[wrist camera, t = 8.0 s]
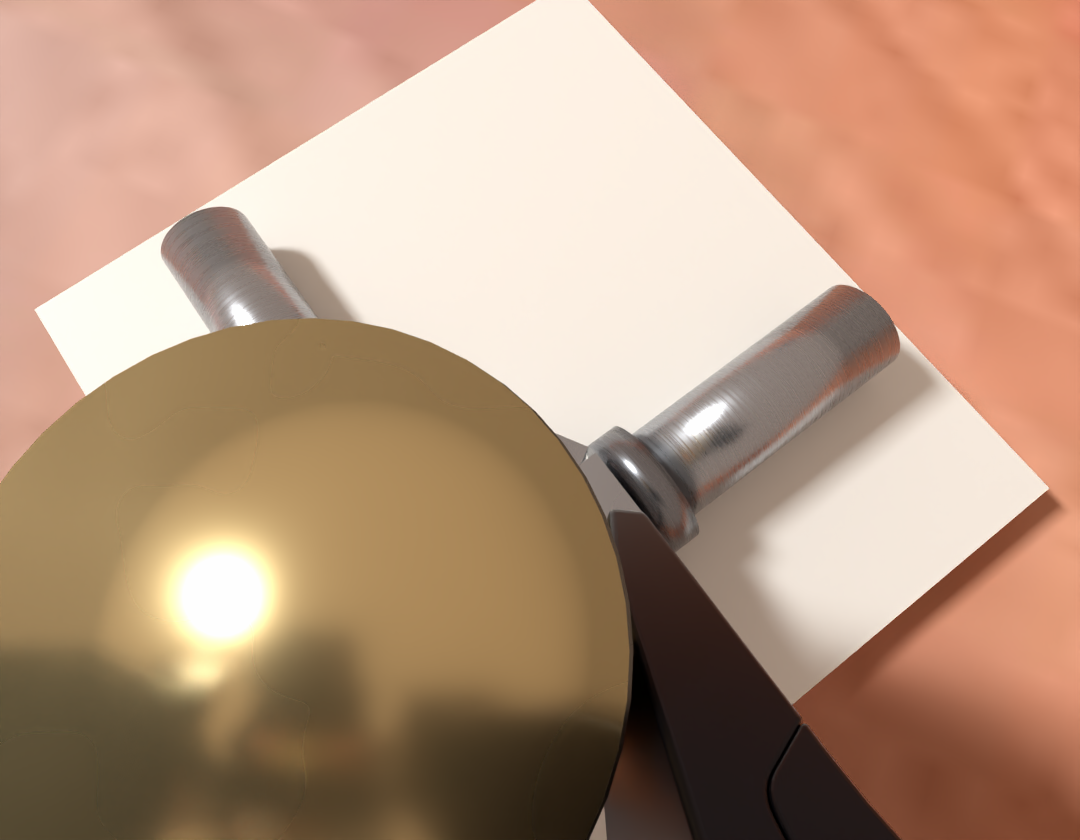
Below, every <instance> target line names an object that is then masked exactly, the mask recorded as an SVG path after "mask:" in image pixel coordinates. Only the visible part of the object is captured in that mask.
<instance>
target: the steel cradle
mask: <svg viewBox="0 0 1080 840" xmlns="http://www.w3.org/2000/svg"><path fill="white" fill-rule="evenodd" d="M161 257H162V260H163V261H164V263H165V265H166V266H167V268H168V269H169V271H170V272H171V274H172V275H173V277H174V278H175V280H176V281H177V283H178V284H179V286H180V287H181V289H182V290H183V292H184V293H185V295H186V296H187V298H188V299H189V301H190V302H191V304H192V305H193V307H194V309H195V310H196V312H197V313H198V315H199V316H200V318H201V319H202V321H203V322H204V324H205V325H206V327H207V328H208V330H209V331H210V333H212V332H216V331H219V330H223V329H226V328H229V327H234V326H240V325H246V324H252V323H258V322H264V321H270V320H284V319H305V318H318V317H317V315H316V314H315V313H314V311H313V310H312V308H311V307H310V306H309V304H308V303H307V301H306V300H305V299H304V297H303V296H302V294H301V293H300V292H299V290H298V289H297V287H296V286H295V285H294V283H293V282H292V280H291V279H290V277H289V276H288V275H287V273H286V272H285V270H284V269H283V268H282V266H281V265H280V263H279V262H278V261H277V259H276V258H275V256H274V255H273V254H272V252H271V251H270V249H269V248H268V246H267V245H266V244H265V242H264V241H263V239H262V238H261V237H260V235H259V234H258V232H257V231H256V230H255V228H254V227H253V225H252V224H251V223H250V221H249V220H248V218H247V217H246V216H245V215H244V214H243V213H242V212H240V211H238V210H236V209H233V208H230V207H210V208H205V209H202V210H199V211H196V212H194V213H191V214H189V215H188V216H186V217H184V218H183V219H181V220H180V221H178V222H177V223H176V224H175V225H174V226H173V227H172V228H171V229H170V230H169V231H168V233H167V234H166V236H165V237H164V239H163V242H162V245H161ZM318 319H319V318H318ZM899 351H900V340H899V335H898V332H897V330H896V327H895V325H894V323H893V321H892V320H891V318H890V317H889V315H888V314H887V312H886V311H885V310H884V309H883V308H882V307H881V305H880V304H879V303H877V302H876V301H875V300H874V299H873V298H872V297H870V296H869V295H868V294H866V293H865V292H863V291H861V290H859V289H857V288H855V287H852V286H848V285H835V286H832V287H830V288H829V289H827V290H826V291H825V292H823V293H822V294H821V295H819V296H818V297H817V298H815V299H814V300H813V301H811V302H810V303H809V304H807V305H806V306H804V307H803V308H802V309H800V310H799V311H798V312H796V313H795V314H794V315H792V316H791V317H790V318H788V319H787V320H786V321H784V322H783V323H782V324H780V325H779V326H777V327H776V328H775V329H773V330H772V331H771V332H769V333H768V334H767V335H765V336H764V337H763V338H761V339H760V340H759V341H757V342H756V343H754V344H753V345H752V346H750V347H749V348H748V349H746V350H745V351H744V352H742V353H741V354H740V355H738V356H737V357H736V358H734V359H733V360H731V361H730V362H729V363H727V364H726V365H725V366H723V367H722V368H721V369H719V370H718V371H717V372H715V373H714V374H713V375H711V376H710V377H709V378H707V379H706V380H704V381H703V382H702V383H700V384H699V385H698V386H696V387H695V388H694V389H692V390H691V391H690V392H688V393H687V394H686V395H684V396H683V397H681V398H680V399H679V400H677V401H676V402H675V403H673V404H672V405H671V406H669V407H668V408H667V409H665V410H664V411H663V412H661V413H660V414H658V415H657V416H656V417H654V418H653V419H652V420H650V421H649V422H648V423H646V424H645V425H644V426H642V427H641V428H640V429H638V430H637V431H636V432H634V433H633V434H631V433H629V432H628V431H626V430H625V429H623V428H621V427H618V426H614V427H613V428H611V429H610V430H609V431H607V432H606V433H605V434H603V435H602V436H600V437H599V438H598V439H596V440H595V441H594V442H592V443H591V444H590V445H588V446H585V445H583V444H580V443H578V442H575V441H573V440H571V439H568V438H566V437H563V436H561V435H559V434H556V433H555V434H556V435H557V436H558V437H559V438H560V440H561V441H562V442H563V443H564V445H565V446H566V448H567V449H568V451H569V452H570V454H571V455H572V456H573V458H574V459H575V461H576V462H577V464H578V465H579V467H580V468H581V470H582V471H583V473H584V474H585V476H586V477H587V479H588V481H589V483H590V485H591V487H592V489H593V491H594V493H595V495H596V497H597V499H598V501H599V503H600V505H601V507H602V510H603V512H604V514H605V516H606V518H608V514H609V512H610V511H611V510H613V509H621V510H632V511H641V512H643V513H645V514H646V515H647V516H648V518H649V519H650V520H651V522H652V523H653V524H654V526H655V527H656V528H657V530H658V531H659V532H660V533H661V535H662V536H663V537H664V539H665V540H666V541H667V543H668V544H669V545H670V546H671V548H672V549H673V550H674V552H677V551H678V550H679V549H680V548H682V547H683V546H684V545H686V544H687V543H688V542H689V541H691V540H692V539H693V538H695V537H696V536H697V535H698V534H699V526H698V523H697V520H696V517H695V514H697V513H698V512H699V511H701V510H702V509H703V508H704V507H706V506H707V505H708V504H710V503H711V502H712V501H714V500H715V499H716V498H717V497H719V496H720V495H721V494H723V493H724V492H725V491H727V490H728V489H729V488H730V487H732V486H733V485H734V484H736V483H737V482H738V481H739V480H741V479H742V478H743V477H745V476H746V475H747V474H749V473H750V472H751V471H752V470H754V469H755V468H756V467H758V466H759V465H760V464H761V463H763V462H764V461H765V460H767V459H768V458H769V457H771V456H772V455H773V454H774V453H776V452H777V451H778V450H780V449H781V448H782V447H783V446H785V445H786V444H787V443H789V442H790V441H791V440H793V439H794V438H795V437H796V436H798V435H799V434H800V433H802V432H803V431H804V430H805V429H807V428H808V427H809V426H811V425H812V424H813V423H815V422H816V421H817V420H818V419H820V418H821V417H822V416H824V415H825V414H826V413H828V412H829V411H830V410H831V409H833V408H834V407H835V406H837V405H838V404H839V403H840V402H842V401H843V400H844V399H846V398H847V397H848V396H850V395H851V394H852V393H853V392H855V391H856V390H857V389H859V388H860V387H861V386H862V385H864V384H865V383H866V382H868V381H869V380H870V379H872V378H873V377H874V376H875V375H877V374H878V373H879V372H881V371H882V370H883V369H884V368H886V367H887V366H888V365H890V364H891V363H892V362H893V361H895V360H896V358H897V357H898V355H899ZM586 455H587V456H588V459H586ZM585 459H586V460H585Z"/></svg>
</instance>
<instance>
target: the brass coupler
mask: <svg viewBox="0 0 1080 840" xmlns="http://www.w3.org/2000/svg"><path fill="white" fill-rule="evenodd" d="M632 669H633V639H632V626H631V614H630V602H629V598H628V593H627V588H626V583H625V578H624V573H623V569H622V564H621V559H620V556H619V553H618V550H617V547H616V544H615V541H614V538H613V536H612V533H611V530H610V527H609V524H608V521H607V518H606V516H605V514H604V512H603V510H602V507H601V505H600V503H599V501H598V499H597V497H596V495H595V493H594V491H593V489H592V487H591V485H590V483H589V481H588V479H587V477H586V476H585V474H584V473H583V471H582V470H581V468H580V467H579V465H578V464H577V462H576V461H575V459H574V458H573V456H572V455H571V454H570V452H569V451H568V449H567V448H566V446H565V445H564V443H563V442H562V441H561V440H560V438H559V437H558V436H557V435H556V434H555V433H554V432H553V430H552V429H551V428H550V427H549V426H548V425H547V424H546V423H545V421H544V420H543V419H542V418H541V417H540V416H539V415H538V413H537V412H536V411H535V410H533V409H532V408H531V407H530V406H529V405H528V404H527V403H525V402H524V401H523V400H522V399H521V398H520V397H519V396H517V395H516V394H515V393H514V392H513V391H512V390H510V389H509V388H508V387H507V386H506V385H505V384H503V383H502V382H500V381H499V380H497V379H495V378H494V377H492V376H491V375H489V374H488V373H486V372H485V371H483V370H482V369H480V368H479V367H477V366H476V365H474V364H473V363H471V362H469V361H468V360H466V359H464V358H462V357H460V356H458V355H456V354H454V353H452V352H450V351H448V350H446V349H444V348H442V347H440V346H438V345H436V344H434V343H432V342H429V341H426V340H423V339H420V338H417V337H414V336H411V335H409V334H406V333H403V332H400V331H397V330H394V329H390V328H385V327H380V326H375V325H370V324H365V323H360V322H355V321H345V320H331V319H318V318H305V319H284V320H270V321H264V322H258V323H252V324H246V325H240V326H234V327H229V328H226V329H223V330H219V331H216V332H212V333H209V334H205V335H202V336H199V337H195V338H192V339H189V340H187V341H184V342H182V343H180V344H177V345H175V346H172V347H170V348H168V349H165V350H163V351H160V352H158V353H156V354H153V355H151V356H149V357H147V358H146V359H144V360H142V361H140V362H139V363H137V364H135V365H133V366H131V367H130V368H128V369H126V370H124V371H122V372H121V373H119V374H117V375H115V376H113V377H112V378H111V379H109V380H108V381H106V382H105V383H104V384H102V385H101V386H99V387H98V388H97V389H95V390H94V391H92V392H91V393H90V394H88V395H87V396H85V397H84V398H83V399H81V400H80V401H78V402H77V403H76V404H75V405H74V406H72V407H71V408H70V409H69V410H68V411H67V412H66V413H65V414H64V415H62V416H61V417H60V418H59V419H58V420H57V421H56V422H55V423H53V424H52V425H51V426H50V427H49V428H48V429H47V430H46V431H44V432H43V433H42V435H41V436H40V437H39V438H38V439H37V440H36V441H35V442H34V443H33V444H32V446H31V447H30V448H29V449H28V450H27V451H26V452H25V453H24V454H23V456H22V457H21V458H20V459H19V460H18V461H17V462H16V463H15V464H14V466H13V467H12V468H11V469H10V471H9V472H8V474H7V475H6V476H5V478H4V479H3V480H2V482H1V483H0V840H589V839H590V836H591V834H592V832H593V830H594V827H595V825H596V823H597V821H598V818H599V816H600V814H601V812H602V809H603V807H604V805H605V803H606V800H607V798H608V795H609V792H610V788H611V785H612V782H613V779H614V775H615V772H616V769H617V765H618V762H619V759H620V755H621V752H622V749H623V743H624V737H625V732H626V726H627V720H628V714H629V708H630V703H631V691H632Z"/></svg>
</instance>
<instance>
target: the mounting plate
mask: <svg viewBox="0 0 1080 840" xmlns="http://www.w3.org/2000/svg"><path fill="white" fill-rule="evenodd" d="M210 207H230V208H233V209H236V210H238V211H240V212H242V213H243V214H244V215H245V216H246V217H247V218H248V220H249V221H250V223H251V224H252V225H253V227H254V228H255V230H256V231H257V232H258V234H259V235H260V237H261V238H262V239H263V241H264V242H265V244H266V245H267V246H268V248H269V249H270V251H271V252H272V254H273V255H274V256H275V258H276V259H277V261H278V262H279V263H280V265H281V266H282V268H283V269H284V270H285V272H286V273H287V275H288V276H289V277H290V279H291V280H292V282H293V283H294V285H295V286H296V287H297V289H298V290H299V292H300V293H301V294H302V296H303V297H304V299H305V300H306V301H307V303H308V304H309V306H310V307H311V308H312V310H313V311H314V313H315V314H316V315H317V317H318V318H319V319H331V320H345V321H355V322H360V323H365V324H370V325H375V326H380V327H385V328H390V329H394V330H397V331H400V332H403V333H406V334H409V335H411V336H414V337H417V338H420V339H423V340H426V341H429V342H432V343H434V344H436V345H438V346H440V347H442V348H444V349H446V350H448V351H450V352H452V353H454V354H456V355H458V356H460V357H462V358H464V359H466V360H468V361H469V362H471V363H473V364H474V365H476V366H477V367H479V368H480V369H482V370H483V371H485V372H486V373H488V374H489V375H491V376H492V377H494V378H495V379H497V380H499V381H500V382H502V383H503V384H505V385H506V386H507V387H508V388H509V389H510V390H512V391H513V392H514V393H515V394H516V395H517V396H519V397H520V398H521V399H522V400H523V401H524V402H525V403H527V404H528V405H529V406H530V407H531V408H532V409H533V410H535V411H536V412H537V413H538V415H539V416H540V417H541V418H542V419H543V420H544V421H545V423H546V424H547V425H548V426H549V427H550V428H551V429H552V430H553V432H554V433H556V434H559V435H561V436H563V437H566V438H568V439H571V440H573V441H575V442H578V443H580V444H583V445H585V446H588V445H590V444H591V443H592V442H594V441H595V440H596V439H598V438H599V437H600V436H602V435H603V434H605V433H606V432H607V431H609V430H610V429H611V428H613V427H614V426H618V427H621V428H623V429H625V430H626V431H628V432H629V433H631V434H633V433H634V432H636V431H637V430H638V429H640V428H641V427H642V426H644V425H645V424H646V423H648V422H649V421H650V420H652V419H653V418H654V417H656V416H657V415H658V414H660V413H661V412H663V411H664V410H665V409H667V408H668V407H669V406H671V405H672V404H673V403H675V402H676V401H677V400H679V399H680V398H681V397H683V396H684V395H686V394H687V393H688V392H690V391H691V390H692V389H694V388H695V387H696V386H698V385H699V384H700V383H702V382H703V381H704V380H706V379H707V378H709V377H710V376H711V375H713V374H714V373H715V372H717V371H718V370H719V369H721V368H722V367H723V366H725V365H726V364H727V363H729V362H730V361H731V360H733V359H734V358H736V357H737V356H738V355H740V354H741V353H742V352H744V351H745V350H746V349H748V348H749V347H750V346H752V345H753V344H754V343H756V342H757V341H759V340H760V339H761V338H763V337H764V336H765V335H767V334H768V333H769V332H771V331H772V330H773V329H775V328H776V327H777V326H779V325H780V324H782V323H783V322H784V321H786V320H787V319H788V318H790V317H791V316H792V315H794V314H795V313H796V312H798V311H799V310H800V309H802V308H803V307H804V306H806V305H807V304H809V303H810V302H811V301H813V300H814V299H815V298H817V297H818V296H819V295H821V294H822V293H823V292H825V291H826V290H827V289H829V288H830V287H832V286H835V285H848V286H852V287H855V288H857V289H859V290H861V289H860V288H859V287H858V285H857V284H856V283H855V282H854V281H853V280H852V279H851V278H850V277H849V276H848V275H847V274H846V273H845V272H844V271H843V270H842V269H841V267H840V266H839V265H838V264H837V263H836V262H835V261H834V260H833V259H832V258H831V257H830V256H829V255H828V254H827V253H826V252H825V251H824V249H823V248H822V247H821V246H820V245H819V244H818V243H817V242H816V241H815V240H814V239H813V238H812V237H811V236H810V235H809V234H808V233H807V232H806V230H805V229H804V228H803V227H802V226H801V225H800V224H799V223H798V222H797V221H796V220H795V219H794V218H793V217H792V216H791V215H790V214H789V212H788V211H787V210H786V209H785V208H784V207H783V206H782V205H781V204H780V203H779V202H778V201H777V200H776V199H775V198H774V197H773V196H772V194H771V193H770V192H769V191H768V190H767V189H766V188H765V187H764V186H763V185H762V184H761V183H760V182H759V181H758V180H757V179H756V178H755V177H754V175H753V174H752V173H751V172H750V171H749V170H748V169H747V168H746V167H745V166H744V165H743V164H742V163H741V162H740V161H739V160H738V159H737V157H736V156H735V155H734V154H733V153H732V152H731V151H730V150H729V149H728V148H727V147H726V146H725V145H724V144H723V143H722V142H721V141H720V139H719V138H718V137H717V136H716V135H715V134H714V133H713V132H712V131H711V130H710V129H709V128H708V127H707V126H706V125H705V124H704V123H703V122H702V120H701V119H700V118H699V117H698V116H697V115H696V114H695V113H694V112H693V111H692V110H691V109H690V108H689V107H688V106H687V105H686V104H685V102H684V101H683V100H682V99H681V98H680V97H679V96H678V95H677V94H676V93H675V92H674V91H673V90H672V89H671V88H670V87H669V86H668V84H667V83H666V82H665V81H664V80H663V79H662V78H661V77H660V76H659V75H658V74H657V73H656V72H655V71H654V70H653V69H652V68H651V67H650V65H649V64H648V63H647V62H646V61H645V60H644V59H643V58H642V57H641V56H640V55H639V54H638V53H637V52H636V51H635V50H634V49H633V47H632V46H631V45H630V44H629V43H628V42H627V41H626V40H625V39H624V38H623V37H622V36H621V35H620V34H619V33H618V32H617V31H616V30H615V28H614V27H613V26H612V25H611V24H610V23H609V22H608V21H607V20H606V19H605V18H604V17H603V16H602V15H601V14H600V13H599V12H598V10H597V9H596V8H595V7H594V6H593V5H592V4H591V3H590V2H589V1H588V0H536V1H535V2H533V3H531V4H530V5H528V6H526V7H525V8H523V9H522V10H520V11H518V12H517V13H515V14H513V15H512V16H510V17H509V18H507V19H505V20H504V21H502V22H501V23H499V24H497V25H496V26H494V27H492V28H491V29H489V30H488V31H486V32H484V33H483V34H481V35H479V36H478V37H476V38H475V39H473V40H471V41H470V42H468V43H466V44H465V45H463V46H462V47H460V48H458V49H457V50H455V51H453V52H452V53H450V54H449V55H447V56H445V57H444V58H442V59H440V60H439V61H437V62H436V63H434V64H432V65H431V66H429V67H427V68H426V69H424V70H423V71H421V72H419V73H418V74H416V75H414V76H413V77H411V78H410V79H408V80H406V81H405V82H403V83H401V84H400V85H398V86H397V87H395V88H393V89H392V90H390V91H388V92H387V93H385V94H384V95H382V96H380V97H379V98H377V99H375V100H374V101H372V102H371V103H369V104H367V105H366V106H364V107H362V108H361V109H359V110H358V111H356V112H354V113H353V114H351V115H350V116H348V117H346V118H345V119H343V120H341V121H340V122H338V123H337V124H335V125H333V126H332V127H330V128H328V129H327V130H325V131H324V132H322V133H320V134H319V135H317V136H315V137H314V138H312V139H311V140H309V141H307V142H306V143H304V144H302V145H301V146H299V147H298V148H296V149H294V150H293V151H291V152H289V153H288V154H286V155H285V156H283V157H281V158H280V159H278V160H276V161H275V162H273V163H272V164H270V165H268V166H267V167H265V168H263V169H262V170H260V171H259V172H257V173H255V174H254V175H252V176H250V177H249V178H247V179H246V180H244V181H242V182H241V183H239V184H237V185H236V186H234V187H233V188H231V189H229V190H228V191H226V192H224V193H223V194H221V195H220V196H218V197H216V198H215V199H213V200H211V201H210V202H208V203H207V204H205V205H203V206H202V207H200V208H198V209H197V210H195V211H194V212H196V211H199V210H202V209H205V208H210ZM194 212H192V213H194ZM190 214H191V213H190ZM187 216H188V215H187ZM182 219H183V218H182ZM179 221H180V220H179ZM177 222H178V221H177ZM177 222H176V223H177ZM176 223H174V224H173V225H171V226H169V227H168V228H166V229H164V230H163V231H161V232H160V233H158V234H156V235H155V236H153V237H151V238H150V239H148V240H147V241H145V242H143V243H142V244H140V245H138V246H137V247H135V248H134V249H132V250H130V251H129V252H127V253H125V254H124V255H122V256H121V257H119V258H117V259H116V260H114V261H112V262H111V263H109V264H108V265H106V266H104V267H103V268H101V269H99V270H98V271H96V272H95V273H93V274H91V275H90V276H88V277H86V278H85V279H83V280H82V281H80V282H78V283H77V284H75V285H73V286H72V287H70V288H69V289H67V290H65V291H64V292H62V293H60V294H59V295H57V296H56V297H54V298H52V299H51V300H49V301H47V302H46V303H44V304H43V305H41V306H39V307H38V308H36V309H35V311H36V313H37V314H38V316H39V318H40V319H41V321H42V323H43V325H44V326H45V328H46V330H47V331H48V333H49V335H50V336H51V338H52V340H53V341H54V343H55V345H56V346H57V348H58V350H59V351H60V353H61V355H62V356H63V358H64V360H65V362H66V363H67V365H68V367H69V368H70V370H71V372H72V373H73V375H74V377H75V378H76V380H77V382H78V383H79V385H80V387H81V388H82V390H83V392H84V393H85V395H86V396H87V395H88V394H90V393H91V392H92V391H94V390H95V389H97V388H98V387H99V386H101V385H102V384H104V383H105V382H106V381H108V380H109V379H111V378H112V377H113V376H115V375H117V374H119V373H121V372H122V371H124V370H126V369H128V368H130V367H131V366H133V365H135V364H137V363H139V362H140V361H142V360H144V359H146V358H147V357H149V356H151V355H153V354H156V353H158V352H160V351H163V350H165V349H168V348H170V347H172V346H175V345H177V344H180V343H182V342H184V341H187V340H189V339H192V338H195V337H199V336H202V335H205V334H209V333H210V331H209V330H208V328H207V327H206V325H205V324H204V322H203V321H202V319H201V318H200V316H199V315H198V313H197V312H196V310H195V309H194V307H193V305H192V304H191V302H190V301H189V299H188V298H187V296H186V295H185V293H184V292H183V290H182V289H181V287H180V286H179V284H178V283H177V281H176V280H175V278H174V277H173V275H172V274H171V272H170V271H169V269H168V268H167V266H166V265H165V263H164V261H163V260H162V257H161V245H162V242H163V239H164V237H165V236H166V234H167V233H168V231H169V230H170V229H171V228H172V227H173V226H174V225H175V224H176ZM861 291H862V290H861ZM895 327H896V326H895ZM896 330H897V332H898V335H899V340H900V351H899V355H898V357H897V358H896V360H895V361H893V362H892V363H891V364H890V365H888V366H887V367H886V368H884V369H883V370H882V371H881V372H879V373H878V374H877V375H875V376H874V377H873V378H872V379H870V380H869V381H868V382H866V383H865V384H864V385H862V386H861V387H860V388H859V389H857V390H856V391H855V392H853V393H852V394H851V395H850V396H848V397H847V398H846V399H844V400H843V401H842V402H840V403H839V404H838V405H837V406H835V407H834V408H833V409H831V410H830V411H829V412H828V413H826V414H825V415H824V416H822V417H821V418H820V419H818V420H817V421H816V422H815V423H813V424H812V425H811V426H809V427H808V428H807V429H805V430H804V431H803V432H802V433H800V434H799V435H798V436H796V437H795V438H794V439H793V440H791V441H790V442H789V443H787V444H786V445H785V446H783V447H782V448H781V449H780V450H778V451H777V452H776V453H774V454H773V455H772V456H771V457H769V458H768V459H767V460H765V461H764V462H763V463H761V464H760V465H759V466H758V467H756V468H755V469H754V470H752V471H751V472H750V473H749V474H747V475H746V476H745V477H743V478H742V479H741V480H739V481H738V482H737V483H736V484H734V485H733V486H732V487H730V488H729V489H728V490H727V491H725V492H724V493H723V494H721V495H720V496H719V497H717V498H716V499H715V500H714V501H712V502H711V503H710V504H708V505H707V506H706V507H704V508H703V509H702V510H701V511H699V512H698V513H697V514H695V517H696V520H697V523H698V526H699V534H698V535H697V536H696V537H695V538H693V539H692V540H691V541H689V542H688V543H687V544H686V545H684V546H683V547H682V548H680V549H679V550H678V551H677V552H675V553H676V554H677V556H678V557H679V558H680V559H681V561H682V562H683V563H684V565H685V566H686V567H687V569H688V570H689V571H690V573H691V574H692V575H693V576H694V578H695V579H696V580H697V582H698V583H699V584H700V586H701V587H702V588H703V589H704V591H705V592H706V593H707V595H708V596H709V597H710V599H711V600H712V601H713V602H714V604H715V605H716V606H717V608H718V609H719V610H720V612H721V613H722V614H723V616H724V617H725V618H726V619H727V621H728V622H729V623H730V625H731V626H732V627H733V629H734V630H735V631H736V632H737V634H738V635H739V636H740V638H741V639H742V640H743V642H744V643H745V644H746V645H747V647H748V648H749V649H750V651H751V652H752V653H753V655H754V656H755V657H756V659H757V660H758V661H759V662H760V664H761V665H762V666H763V668H764V669H765V670H766V672H767V673H768V674H769V675H770V677H771V678H772V679H773V681H774V682H775V683H776V685H777V686H778V687H779V688H780V690H781V691H782V692H783V694H784V695H785V696H786V698H787V699H788V700H789V702H790V703H791V704H792V705H793V704H794V703H795V702H796V701H797V700H798V699H800V698H801V697H802V696H803V695H804V694H806V693H807V692H808V691H809V690H810V689H812V688H813V687H814V686H815V685H816V684H817V683H819V682H820V681H821V680H822V679H823V678H825V677H826V676H827V675H828V674H829V673H831V672H832V671H833V670H834V669H835V668H836V667H838V666H839V665H840V664H841V663H842V662H844V661H845V660H846V659H847V658H848V657H850V656H851V655H852V654H853V653H854V652H855V651H857V650H858V649H859V648H860V647H861V646H863V645H864V644H865V643H866V642H867V641H869V640H870V639H871V638H872V637H873V636H874V635H876V634H877V633H878V632H879V631H880V630H882V629H883V628H884V627H885V626H886V625H888V624H889V623H890V622H891V621H892V620H893V619H895V618H896V617H897V616H898V615H899V614H901V613H902V612H903V611H904V610H905V609H907V608H908V607H909V606H910V605H911V604H913V603H914V602H915V601H916V600H917V599H918V598H920V597H921V596H922V595H923V594H924V593H926V592H927V591H928V590H929V589H930V588H932V587H933V586H934V585H935V584H936V583H937V582H939V581H940V580H941V579H942V578H943V577H945V576H946V575H947V574H948V573H949V572H951V571H952V570H953V569H954V568H955V567H956V566H958V565H959V564H960V563H961V562H962V561H964V560H965V559H966V558H967V557H968V556H970V555H971V554H972V553H973V552H974V551H975V550H977V549H978V548H979V547H980V546H981V545H983V544H984V543H985V542H986V541H987V540H989V539H990V538H991V537H992V536H993V535H994V534H996V533H997V532H998V531H999V530H1000V529H1002V528H1003V527H1004V526H1005V525H1006V524H1008V523H1009V522H1010V521H1011V520H1012V519H1013V518H1015V517H1016V516H1017V515H1018V514H1019V513H1021V512H1022V511H1023V510H1024V509H1025V508H1027V507H1028V506H1029V505H1030V504H1031V503H1032V502H1034V501H1035V500H1036V499H1037V498H1038V497H1040V496H1041V495H1042V494H1043V493H1044V492H1046V491H1047V490H1048V489H1049V487H1048V486H1047V485H1046V484H1045V483H1044V482H1043V481H1042V480H1041V479H1040V478H1039V477H1038V476H1037V475H1036V474H1035V473H1034V472H1033V471H1032V469H1031V468H1030V467H1029V466H1028V465H1027V464H1026V463H1025V462H1024V461H1023V460H1022V459H1021V458H1020V457H1019V456H1018V455H1017V454H1016V453H1015V451H1014V450H1013V449H1012V448H1011V447H1010V446H1009V445H1008V444H1007V443H1006V442H1005V441H1004V440H1003V439H1002V438H1001V437H1000V436H999V435H998V434H997V432H996V431H995V430H994V429H993V428H992V427H991V426H990V425H989V424H988V423H987V422H986V421H985V420H984V419H983V418H982V417H981V416H980V414H979V413H978V412H977V411H976V410H975V409H974V408H973V407H972V406H971V405H970V404H969V403H968V402H967V401H966V400H965V399H964V398H963V396H962V395H961V394H960V393H959V392H958V391H957V390H956V389H955V388H954V387H953V386H952V385H951V384H950V383H949V382H948V381H947V380H946V379H945V377H944V376H943V375H942V374H941V373H940V372H939V371H938V370H937V369H936V368H935V367H934V366H933V365H932V364H931V363H930V362H929V361H928V359H927V358H926V357H925V356H924V355H923V354H922V353H921V352H920V351H919V350H918V349H917V348H916V347H915V346H914V345H913V344H912V343H911V341H910V340H909V339H908V338H907V337H906V336H905V335H904V334H903V333H902V332H901V331H900V330H899V329H898V328H897V327H896ZM586 459H588V456H587V455H586ZM586 459H585V460H586ZM589 840H607V835H606V823H605V811H604V807H603V809H602V812H601V814H600V816H599V818H598V821H597V823H596V825H595V827H594V830H593V832H592V834H591V836H590V839H589Z"/></svg>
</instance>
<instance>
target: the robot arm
mask: <svg viewBox="0 0 1080 840" xmlns="http://www.w3.org/2000/svg"><path fill="white" fill-rule="evenodd" d="M607 521H608V524H609V527H610V530H611V533H612V536H613V538H614V541H615V544H616V547H617V550H618V553H619V556H620V559H621V564H622V569H623V573H624V578H625V583H626V588H627V593H628V598H629V602H630V614H631V626H632V639H633V669H632V691H631V703H630V708H629V714H628V720H627V726H626V732H625V737H624V743H623V749H622V752H621V755H620V759H619V762H618V765H617V769H616V772H615V775H614V779H613V782H612V785H611V788H610V792H609V795H608V798H607V800H606V803H605V805H604V811H605V823H606V835H607V840H902V839H901V838H900V837H899V835H898V834H897V833H896V832H895V831H894V830H893V829H892V828H891V826H890V825H889V824H888V823H887V822H886V821H885V820H884V819H883V817H882V816H881V815H880V814H879V813H878V812H877V811H876V809H875V808H874V807H873V806H872V805H871V804H870V803H869V801H868V800H867V799H866V798H865V796H864V795H863V794H862V793H861V792H860V790H859V789H858V788H857V787H856V785H855V784H854V783H853V782H852V780H851V779H850V778H849V777H848V775H847V774H846V773H845V772H844V770H843V769H842V768H841V767H840V766H839V764H838V763H837V762H836V761H835V759H834V758H833V757H832V756H831V754H830V753H829V752H828V751H827V749H826V748H825V747H824V745H823V744H822V743H821V741H820V740H819V739H818V737H817V736H816V735H815V734H814V732H813V731H812V730H811V728H810V727H809V726H808V725H807V724H802V717H801V716H800V715H799V713H798V712H797V711H796V709H795V708H794V707H793V705H792V704H791V703H790V702H789V700H788V699H787V698H786V696H785V695H784V694H783V692H782V691H781V690H780V688H779V687H778V686H777V685H776V683H775V682H774V681H773V679H772V678H771V677H770V675H769V674H768V673H767V672H766V670H765V669H764V668H763V666H762V665H761V664H760V662H759V661H758V660H757V659H756V657H755V656H754V655H753V653H752V652H751V651H750V649H749V648H748V647H747V645H746V644H745V643H744V642H743V640H742V639H741V638H740V636H739V635H738V634H737V632H736V631H735V630H734V629H733V627H732V626H731V625H730V623H729V622H728V621H727V619H726V618H725V617H724V616H723V614H722V613H721V612H720V610H719V609H718V608H717V606H716V605H715V604H714V602H713V601H712V600H711V599H710V597H709V596H708V595H707V593H706V592H705V591H704V589H703V588H702V587H701V586H700V584H699V583H698V582H697V580H696V579H695V578H694V576H693V575H692V574H691V573H690V571H689V570H688V569H687V567H686V566H685V565H684V563H683V562H682V561H681V559H680V558H679V557H678V556H677V554H676V553H675V552H674V550H673V549H672V548H671V546H670V545H669V544H668V543H667V541H666V540H665V539H664V537H663V536H662V535H661V533H660V532H659V531H658V530H657V528H656V527H655V526H654V524H653V523H652V522H651V520H650V519H649V518H648V516H647V515H646V514H645V513H643V512H641V511H632V510H621V509H613V510H611V511H610V512H609V514H608V518H607Z"/></svg>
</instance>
